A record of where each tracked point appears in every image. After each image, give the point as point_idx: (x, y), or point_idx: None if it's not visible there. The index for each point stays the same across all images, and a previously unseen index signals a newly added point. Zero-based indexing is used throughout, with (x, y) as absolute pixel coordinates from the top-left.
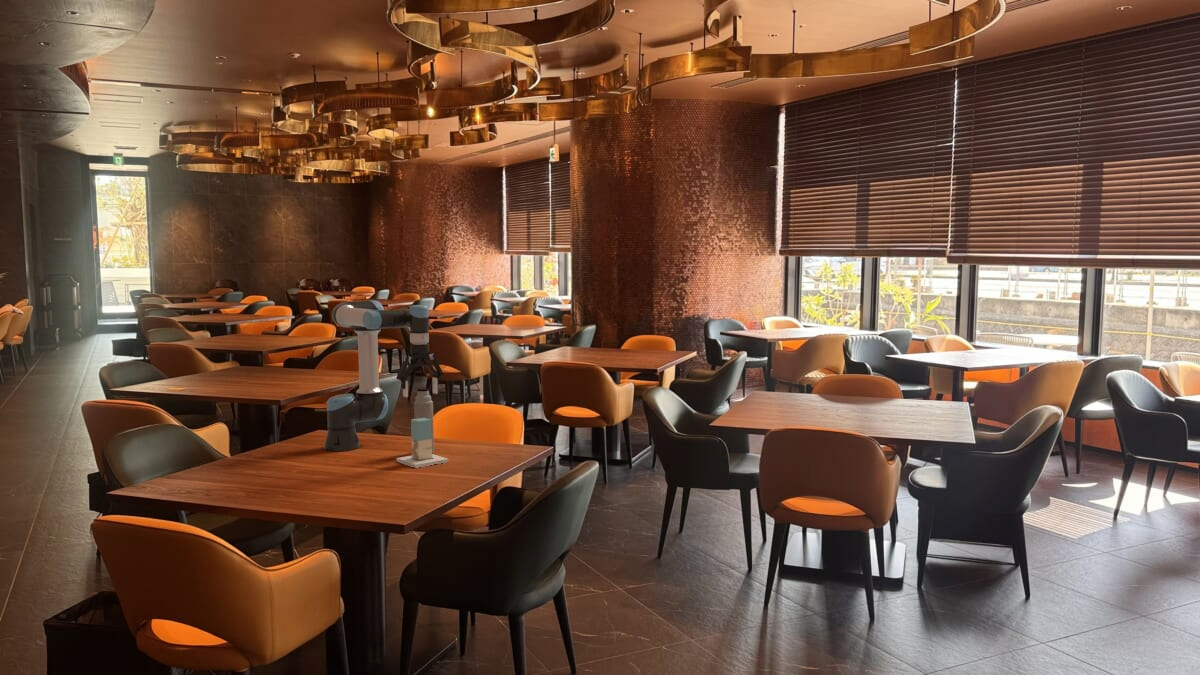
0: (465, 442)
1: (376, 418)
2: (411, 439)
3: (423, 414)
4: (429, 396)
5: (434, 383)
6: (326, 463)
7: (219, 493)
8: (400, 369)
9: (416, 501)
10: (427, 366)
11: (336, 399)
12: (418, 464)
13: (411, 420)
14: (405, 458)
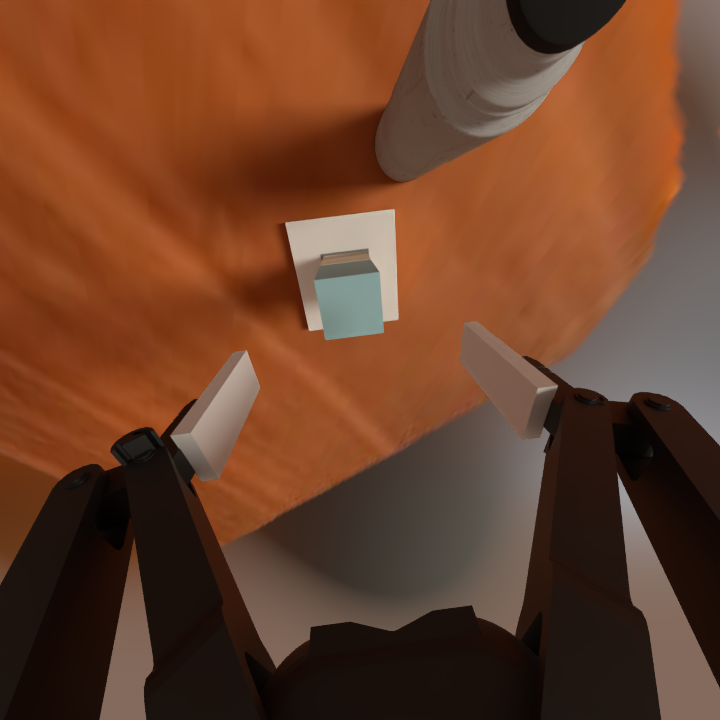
0: (620, 37)
1: None
2: (320, 265)
3: (431, 148)
4: (548, 85)
5: (497, 386)
6: (40, 77)
7: None
8: (7, 628)
9: (251, 498)
10: (530, 590)
11: None
12: (316, 329)
13: (315, 283)
14: (307, 246)
